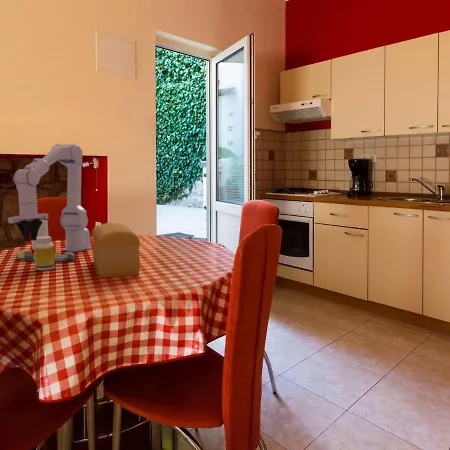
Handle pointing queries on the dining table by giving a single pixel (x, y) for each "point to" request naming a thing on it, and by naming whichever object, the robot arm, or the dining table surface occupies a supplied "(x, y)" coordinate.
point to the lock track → (23, 259)
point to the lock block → (24, 253)
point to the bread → (115, 250)
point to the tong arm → (32, 257)
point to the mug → (41, 231)
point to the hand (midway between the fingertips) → (30, 240)
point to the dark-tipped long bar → (69, 257)
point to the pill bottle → (44, 253)
